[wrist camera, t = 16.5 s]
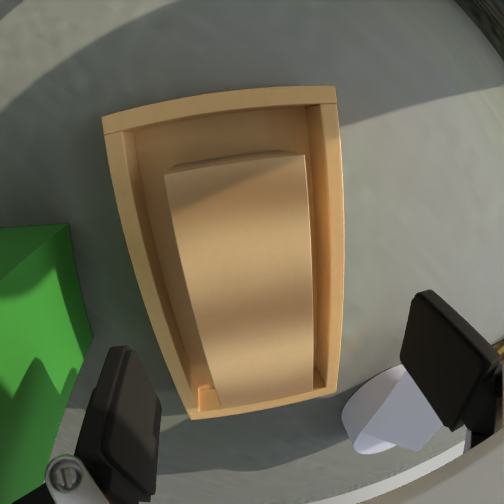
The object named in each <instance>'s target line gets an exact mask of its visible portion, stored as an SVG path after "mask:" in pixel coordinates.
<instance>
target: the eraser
mask: <svg viewBox="0 0 504 504" xmlns="http://www.w3.org/2000/svg"><path fill="white" fill-rule="evenodd" d="M163 180H164V185H165V191H166V196H167V201H168V206H169V211H170V216H171V221H172V226H173V231H174V235H175V240H176V245H177V249H178V254H179V258H180V262H181V267H182V271H183V275H184V279H185V283H186V287H187V291H188V295H189V299H190V303H191V307H192V311H193V315H194V318H195V322H196V326H197V329H198V333H199V337H200V340H201V344H202V347H203V351H204V354H205V358H206V361H207V364H208V368H209V371H210V374H211V378H212V381H213V384H214V387H215V390H216V394H217V397H218V400H219V403H220V406H221V409H225V408H232V407H238V406H244V405H250V404H255V403H261V402H266V401H271V400H276V399H280V398H285V397H290V396H294V395H298V394H302V393H306V392H310V391H313V287H312V258H311V236H310V218H309V203H308V189H307V176H306V164H305V155H304V154H299V153H295V152H290V151H284V150H271V151H262V152H254V153H246V154H239V155H231V156H225V157H218V158H212V159H205V160H199V161H194V162H188V163H182V164H177V165H174V166H173V167H172V168H170V169H169V170H168V171H167V172H166V173H165V174H164V175H163Z"/></svg>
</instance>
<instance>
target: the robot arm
mask: <svg viewBox="0 0 504 504" xmlns="http://www.w3.org/2000/svg"><path fill="white" fill-rule="evenodd" d="M501 358H502V356H501V355H500V354H499V353H498V352H497V351H496V350H495V349H494V348H493V347H492V346H491V345H490V344H489V343H488V342H487V341H486V340H485V339H484V338H483V337H482V336H481V335H480V334H479V333H478V332H477V331H476V330H475V329H474V328H473V327H472V326H471V325H470V324H469V323H468V322H467V321H466V320H465V319H464V318H463V317H461V316H460V315H459V314H458V313H457V312H456V311H455V310H454V309H453V308H452V307H451V306H450V305H448V304H447V303H446V302H445V301H444V300H443V299H442V298H441V297H440V296H438V295H437V294H436V293H435V292H434V291H432V290H426V291H423V292H419V293H417V294H416V295H415V297H414V299H412V301H411V306H410V311H409V316H408V321H407V326H406V331H405V335H404V339H403V344H402V348H401V352H400V361H401V363H402V365H403V366H404V368H405V369H406V370H407V372H408V373H409V375H410V376H411V377H412V379H413V380H414V382H415V383H416V385H417V386H418V388H419V389H420V391H421V392H422V393H423V395H424V396H425V398H426V399H427V401H428V402H429V404H430V405H431V407H432V408H433V410H434V411H435V413H436V414H437V416H438V417H439V419H440V420H441V422H442V424H443V425H444V426H446V427H449V429H450V430H451V432H453V431H455V430H457V429H458V428H460V427H462V426H463V425H464V424H465V426H466V427H467V433H466V439H465V446H464V452H463V455H461V456H459V457H458V458H456V459H454V460H453V461H451V462H449V463H447V464H445V465H444V466H442V467H440V468H438V469H436V470H434V471H432V472H431V473H429V474H427V475H425V476H423V477H421V478H419V479H417V480H414V481H412V482H410V483H408V484H406V485H403V486H401V487H399V488H397V489H394V490H392V491H390V492H387V493H385V494H382V495H379V496H377V497H374V498H372V499H369V500H366V501H364V502H360V503H357V504H504V363H503V364H501V363H500V360H501ZM161 411H162V410H161V404H160V401H159V399H158V397H157V395H156V393H155V391H154V389H153V387H152V385H151V383H150V381H149V379H148V377H147V375H146V373H145V371H144V369H143V367H142V365H141V362H140V360H139V358H138V356H137V354H136V352H135V350H130V348H129V347H128V346H118V347H111V348H110V349H109V352H108V354H107V357H106V360H105V363H104V366H103V369H102V371H101V374H100V377H99V380H98V383H97V386H96V387H95V388H94V390H93V392H92V395H91V398H90V401H89V404H88V407H87V410H86V414H85V417H84V420H83V424H82V427H81V431H80V434H79V438H78V441H77V445H76V449H75V453H74V456H73V455H69V454H64V455H60V456H57V457H55V458H54V459H52V460H51V461H50V463H49V464H48V465H47V467H46V470H45V483H44V484H42V485H41V486H39V487H37V488H36V489H34V490H33V491H31V492H29V493H28V494H26V495H24V496H23V497H21V498H19V499H18V500H16V501H14V502H13V503H12V504H139V501H140V502H150V499H151V495H154V494H155V491H156V474H157V458H158V445H159V433H160V422H161Z"/></svg>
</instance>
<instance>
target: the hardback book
mask: <svg viewBox="0 0 504 504" xmlns="http://www.w3.org/2000/svg"><path fill="white" fill-rule="evenodd" d="M92 339H93V335H92V332H91V328H90V325H89V321H88V317H87V314H86V310H85V306H84V302H83V298H82V293H81V289H80V284H79V280H78V275H77V270H76V265H75V260H74V254H73V248H72V242H71V235H70V228H69V224H51V225H36V226H21V227H8V228H0V504H12V503H13V502H14V501H16V500H18V499H19V498H21V497H23V496H24V495H26V494H28V493H29V492H31V491H33V490H34V489H36V488H37V487H39V486H41V485H42V484H43V482H44V478H45V470H46V467H47V465H48V462H49V459H50V455H51V452H52V448H53V445H54V441H55V438H56V435H57V432H58V429H59V426H60V423H61V420H62V417H63V414H64V411H65V408H66V405H67V402H68V399H69V397H70V394H71V391H72V389H73V386H74V383H75V381H76V378H77V376H78V373H79V371H80V368H81V366H82V363H83V361H84V358H85V356H86V353H87V351H88V349H89V346H90V344H91V342H92Z"/></svg>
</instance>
